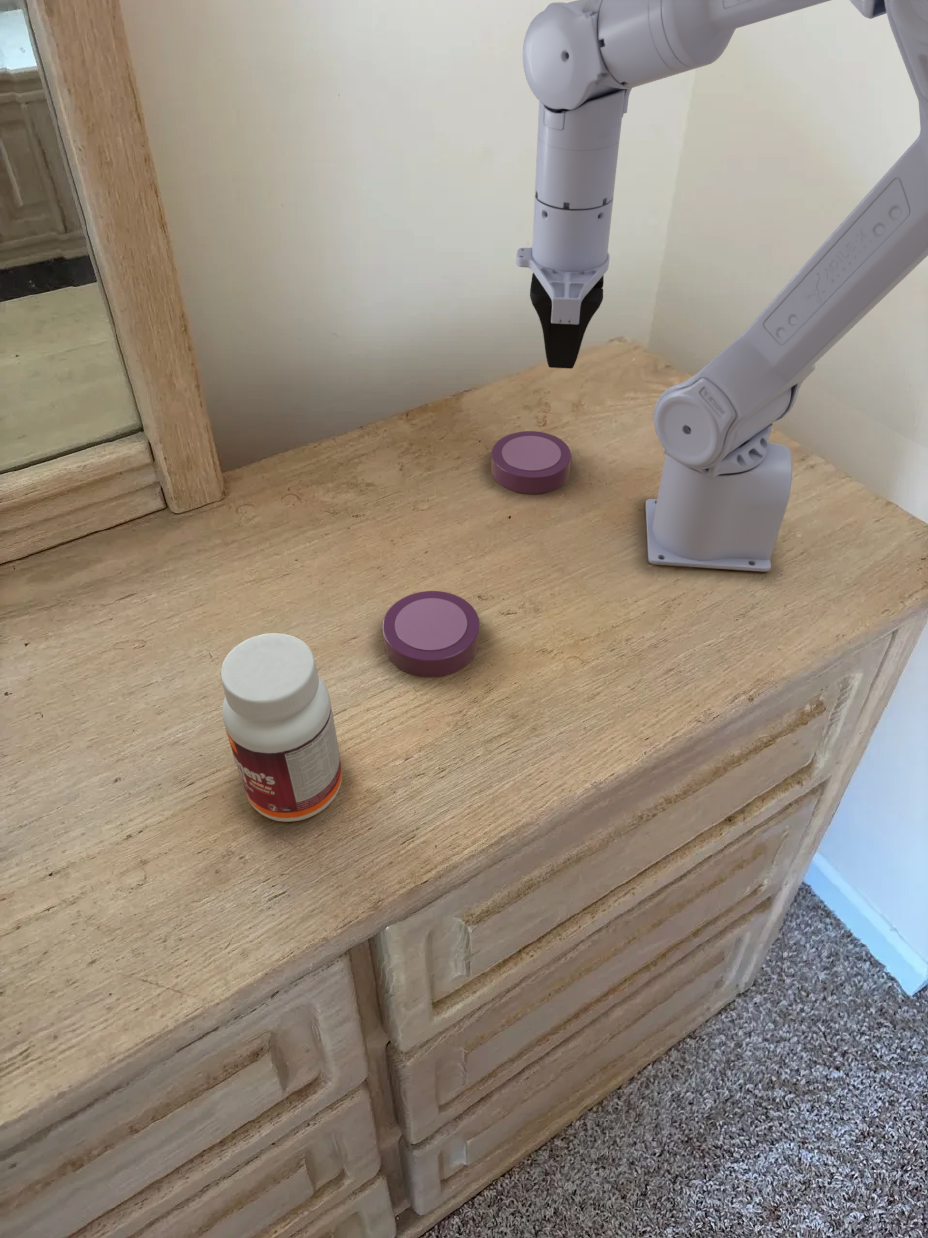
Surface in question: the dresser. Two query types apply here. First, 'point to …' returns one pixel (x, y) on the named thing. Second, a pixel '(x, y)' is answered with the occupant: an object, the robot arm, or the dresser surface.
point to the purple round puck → (531, 462)
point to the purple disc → (431, 633)
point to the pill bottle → (280, 727)
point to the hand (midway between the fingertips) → (561, 363)
